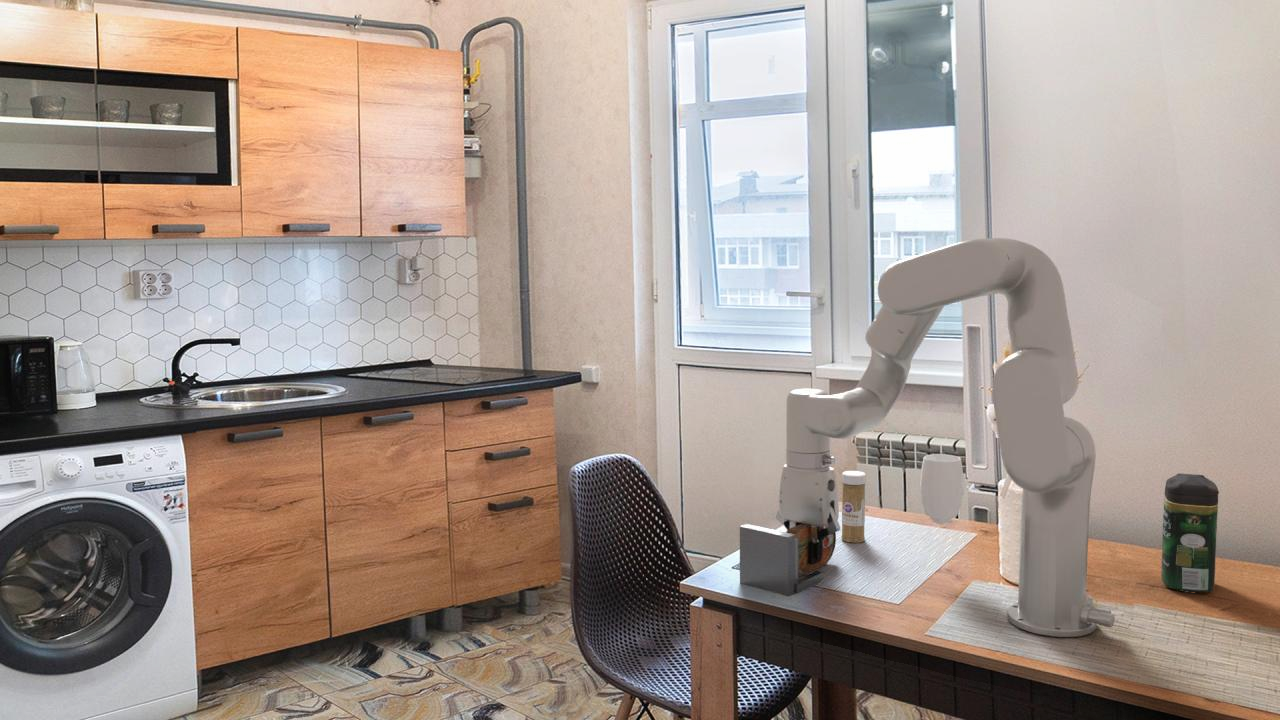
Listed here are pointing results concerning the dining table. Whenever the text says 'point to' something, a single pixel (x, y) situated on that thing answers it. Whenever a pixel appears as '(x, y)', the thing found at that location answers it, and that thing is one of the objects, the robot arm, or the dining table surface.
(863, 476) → the sprinkles bottle
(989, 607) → the dining table surface
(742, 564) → the frame
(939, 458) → the cup
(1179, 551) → the coffee jar
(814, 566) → the tin
